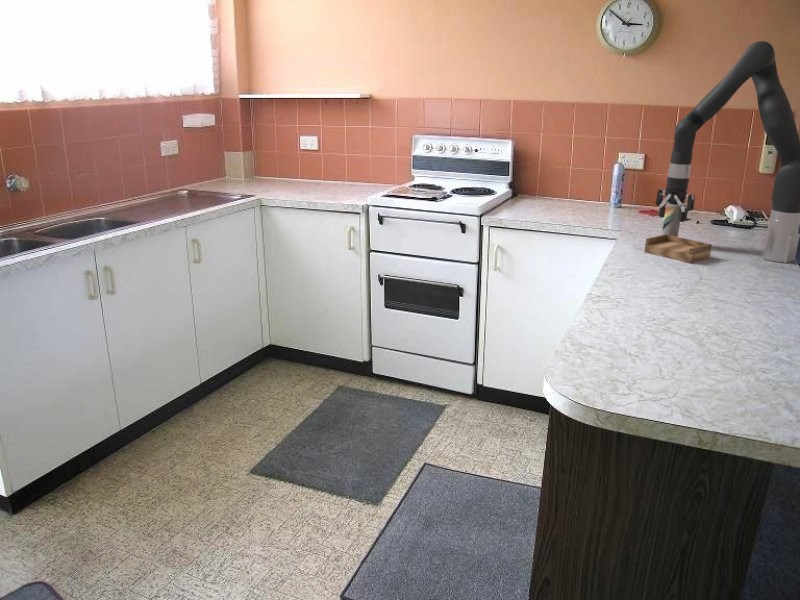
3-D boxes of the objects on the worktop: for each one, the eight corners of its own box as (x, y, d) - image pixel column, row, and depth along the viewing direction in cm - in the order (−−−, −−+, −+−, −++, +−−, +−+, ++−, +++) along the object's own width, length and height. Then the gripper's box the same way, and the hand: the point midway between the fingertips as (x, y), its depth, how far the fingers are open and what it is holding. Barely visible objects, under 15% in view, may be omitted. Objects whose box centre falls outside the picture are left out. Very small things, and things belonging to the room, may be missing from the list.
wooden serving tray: (709, 258, 234) (711, 244, 232) (690, 263, 227) (692, 249, 225) (663, 247, 247) (665, 234, 246) (644, 252, 241) (646, 238, 239)
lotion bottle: (674, 242, 255) (681, 190, 248) (678, 246, 249) (686, 193, 243) (658, 242, 255) (666, 190, 249) (662, 245, 250) (670, 192, 243)
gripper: (702, 177, 241) (695, 221, 246) (667, 172, 251) (661, 215, 257) (690, 179, 236) (683, 224, 242) (655, 174, 247) (649, 217, 253)
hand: (671, 219), depth 249 cm, fingers open, 8 cm apart
